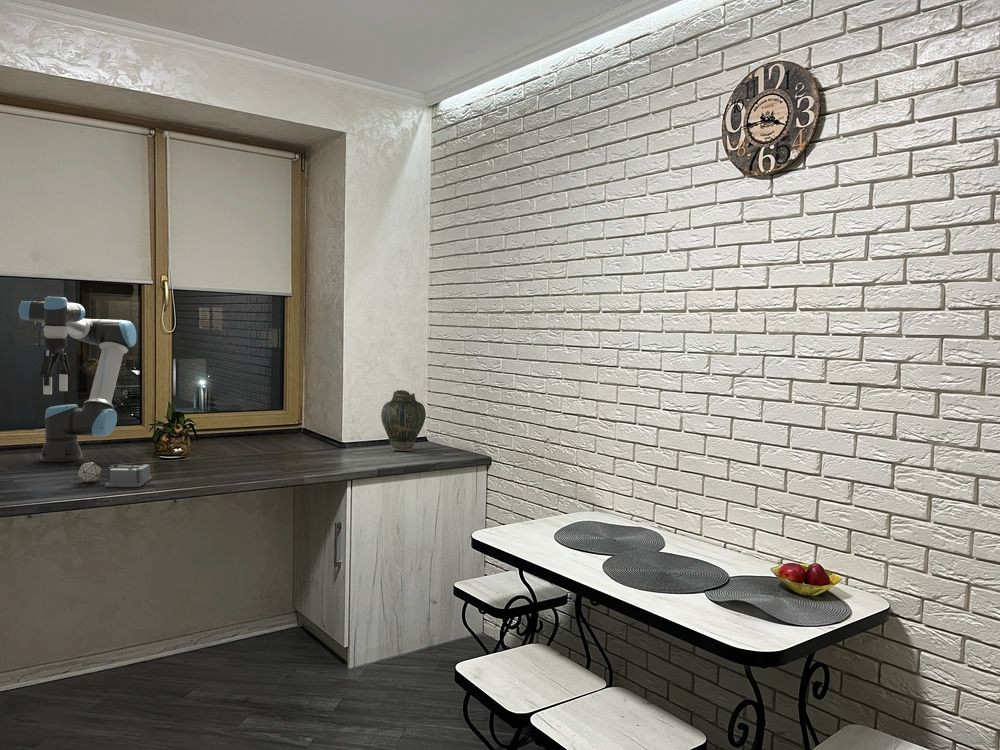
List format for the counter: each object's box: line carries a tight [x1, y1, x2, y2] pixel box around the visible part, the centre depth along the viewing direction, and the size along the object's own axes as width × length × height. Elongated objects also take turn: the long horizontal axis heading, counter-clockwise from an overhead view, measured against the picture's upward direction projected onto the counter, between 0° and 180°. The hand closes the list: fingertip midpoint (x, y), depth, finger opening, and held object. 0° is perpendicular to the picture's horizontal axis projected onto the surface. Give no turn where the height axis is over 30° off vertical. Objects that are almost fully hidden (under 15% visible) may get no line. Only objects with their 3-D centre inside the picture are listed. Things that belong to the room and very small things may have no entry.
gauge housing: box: [104, 464, 153, 488], centre depth 270 cm, size 14×12×6 cm
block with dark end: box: [107, 465, 135, 481], centre depth 269 cm, size 7×9×5 cm
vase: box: [380, 389, 427, 452], centre depth 361 cm, size 22×22×30 cm
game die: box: [74, 459, 106, 485], centre depth 268 cm, size 9×8×10 cm
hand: (55, 392), depth 277 cm, fingers open, 13 cm apart
